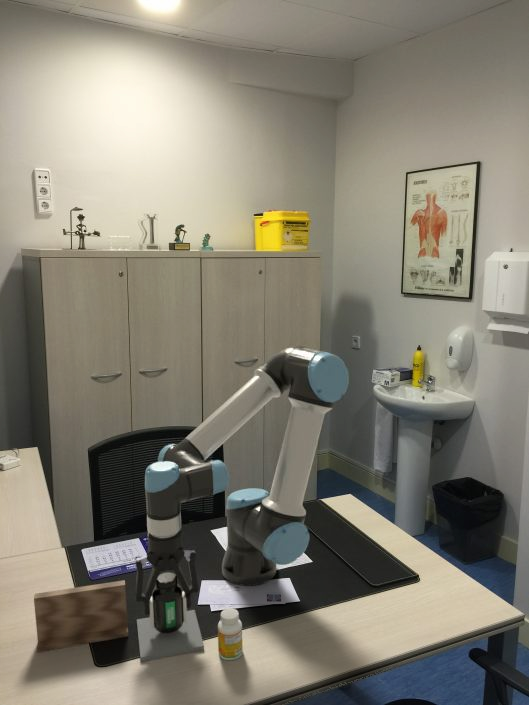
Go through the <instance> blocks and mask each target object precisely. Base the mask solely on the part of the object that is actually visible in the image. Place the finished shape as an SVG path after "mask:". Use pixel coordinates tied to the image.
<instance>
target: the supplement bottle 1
mask: <svg viewBox="0 0 529 705" xmlns="http://www.w3.org/2000/svg"><path fill="white" fill-rule="evenodd" d="M178 583H179V580H178V577H177V575H176V574H175V572H172V571H171V572H170V571H168V572H167V571H166V572H165V571H164V572H160V573H159V576H158V578H157V581H156V584H155V587H154V590H153V593H152V600H153V613H154V628H155V629H156V630H157V631H158V632H161V633H172V632H175V631H177V630H179V629H180V628H181V626H182V625H183V599H182V592H183V588H182V586H180V585H179V584H178Z"/></svg>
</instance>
